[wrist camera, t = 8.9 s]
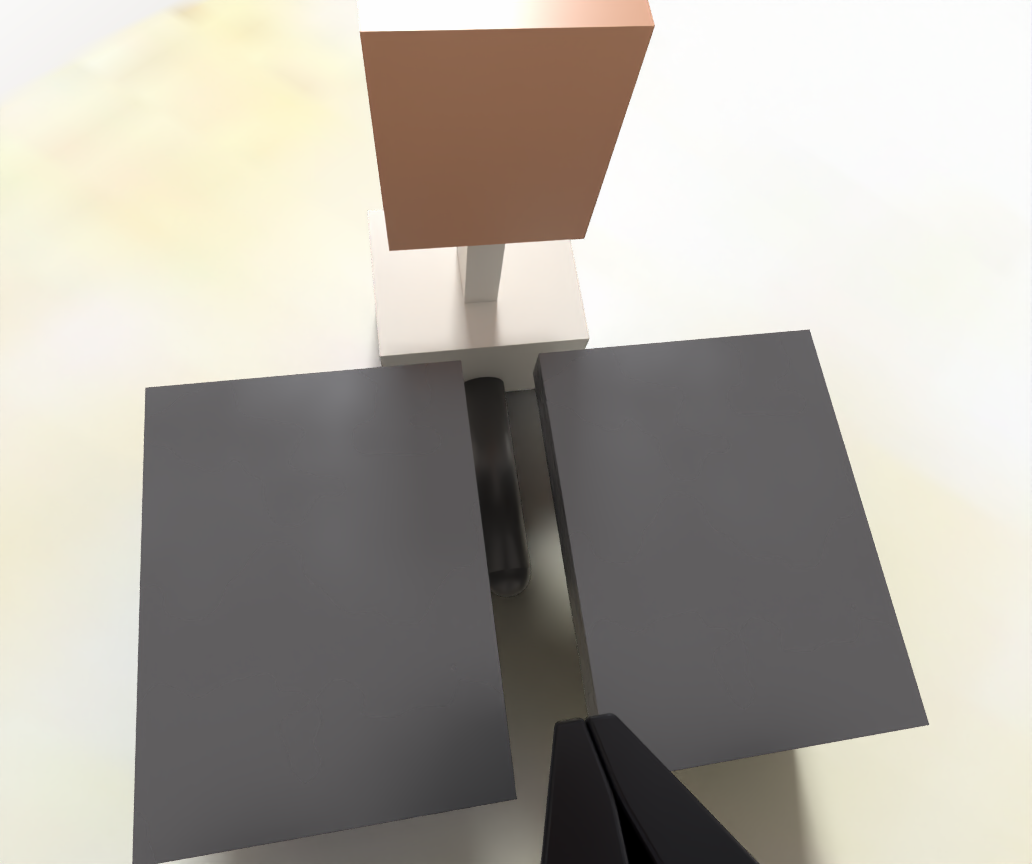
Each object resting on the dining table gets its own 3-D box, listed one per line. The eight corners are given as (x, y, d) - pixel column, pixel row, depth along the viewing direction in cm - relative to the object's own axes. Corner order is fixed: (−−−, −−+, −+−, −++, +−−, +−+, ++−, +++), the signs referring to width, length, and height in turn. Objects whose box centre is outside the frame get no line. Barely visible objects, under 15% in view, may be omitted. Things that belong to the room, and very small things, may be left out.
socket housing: (789, 706, 17) (928, 724, 12) (233, 800, 15) (132, 868, 10) (716, 413, 20) (809, 329, 15) (229, 463, 18) (146, 387, 13)
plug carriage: (603, 585, 18) (820, 484, 7) (408, 612, 17) (354, 539, 7) (546, 263, 20) (645, -125, 10) (378, 274, 20) (309, -129, 10)
